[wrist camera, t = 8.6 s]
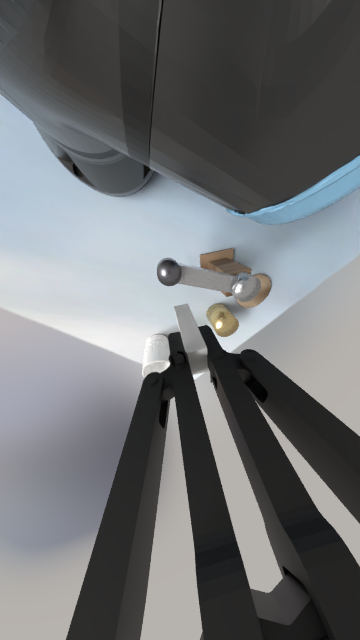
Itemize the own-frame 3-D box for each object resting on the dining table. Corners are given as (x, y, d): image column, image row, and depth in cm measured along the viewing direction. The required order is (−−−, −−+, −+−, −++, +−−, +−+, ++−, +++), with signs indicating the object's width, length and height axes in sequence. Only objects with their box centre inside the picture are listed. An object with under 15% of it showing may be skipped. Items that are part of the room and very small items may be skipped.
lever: (256, 274, 22) (266, 279, 20) (244, 297, 24) (252, 303, 22) (159, 252, 18) (159, 255, 16) (154, 281, 20) (155, 287, 18)
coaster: (237, 278, 33) (239, 279, 33) (272, 270, 34) (274, 271, 33) (235, 309, 39) (236, 310, 38) (265, 302, 39) (267, 303, 39)
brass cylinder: (205, 305, 36) (215, 320, 31) (226, 301, 37) (239, 315, 31) (206, 322, 40) (215, 339, 34) (225, 318, 40) (237, 333, 34)
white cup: (172, 332, 40) (177, 360, 31) (169, 351, 44) (173, 380, 36) (144, 332, 38) (141, 361, 30) (143, 352, 42) (141, 382, 34)
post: (199, 254, 29) (218, 266, 21) (231, 248, 29) (262, 257, 21) (202, 286, 33) (218, 306, 25) (229, 280, 33) (255, 297, 25)
